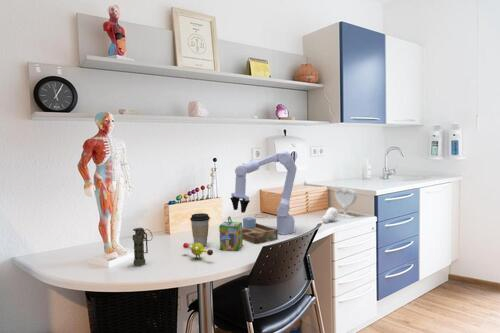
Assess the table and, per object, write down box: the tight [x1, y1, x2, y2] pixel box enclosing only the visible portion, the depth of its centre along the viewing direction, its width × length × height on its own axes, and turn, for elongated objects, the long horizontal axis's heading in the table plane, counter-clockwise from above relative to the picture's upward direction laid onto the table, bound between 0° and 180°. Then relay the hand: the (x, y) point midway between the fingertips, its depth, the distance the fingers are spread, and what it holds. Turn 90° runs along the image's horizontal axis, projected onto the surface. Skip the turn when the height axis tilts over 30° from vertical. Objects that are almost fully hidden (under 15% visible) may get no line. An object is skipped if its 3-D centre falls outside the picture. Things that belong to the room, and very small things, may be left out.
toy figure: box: [182, 242, 214, 260], centre depth 147 cm, size 18×6×7 cm, turn 50°
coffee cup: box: [189, 212, 211, 248], centre depth 166 cm, size 9×9×15 cm
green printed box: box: [218, 215, 243, 251], centre depth 162 cm, size 9×9×15 cm
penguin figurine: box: [321, 206, 339, 224], centre depth 210 cm, size 6×8×12 cm
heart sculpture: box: [334, 187, 358, 219], centre depth 227 cm, size 16×5×18 cm, turn 34°
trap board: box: [242, 222, 279, 245], centre depth 180 cm, size 14×22×5 cm, turn 36°
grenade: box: [132, 227, 153, 267], centre depth 141 cm, size 9×6×15 cm, turn 132°
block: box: [242, 216, 257, 229], centre depth 188 cm, size 5×5×5 cm
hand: (239, 211), depth 192 cm, fingers open, 7 cm apart
